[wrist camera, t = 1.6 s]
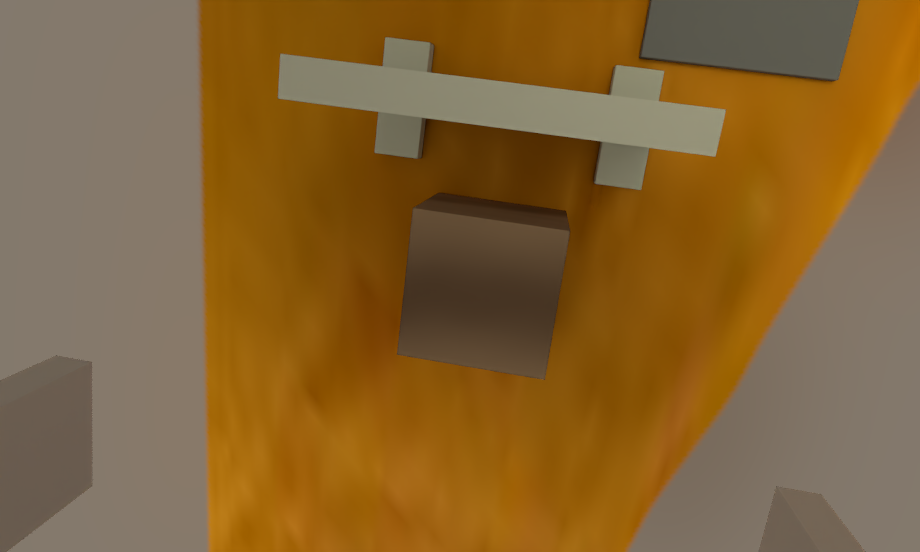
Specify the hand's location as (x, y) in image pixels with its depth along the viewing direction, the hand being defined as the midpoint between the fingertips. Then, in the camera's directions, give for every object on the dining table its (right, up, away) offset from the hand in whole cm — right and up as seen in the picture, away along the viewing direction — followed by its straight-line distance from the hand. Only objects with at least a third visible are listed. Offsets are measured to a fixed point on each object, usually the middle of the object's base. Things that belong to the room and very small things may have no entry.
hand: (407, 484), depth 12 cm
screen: (+3, +11, +17) cm, 20 cm away
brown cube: (+3, +5, +18) cm, 19 cm away
